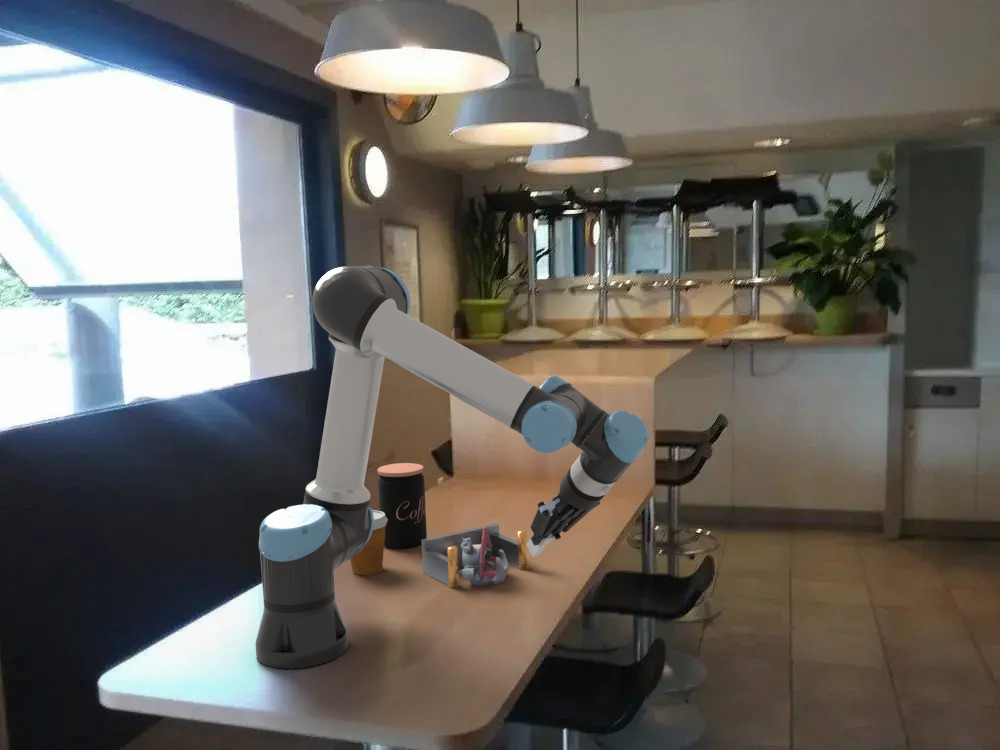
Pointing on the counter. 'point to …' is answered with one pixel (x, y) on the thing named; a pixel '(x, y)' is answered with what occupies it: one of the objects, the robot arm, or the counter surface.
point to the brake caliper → (483, 562)
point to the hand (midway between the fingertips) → (532, 549)
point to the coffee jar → (403, 504)
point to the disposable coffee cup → (371, 549)
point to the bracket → (447, 553)
